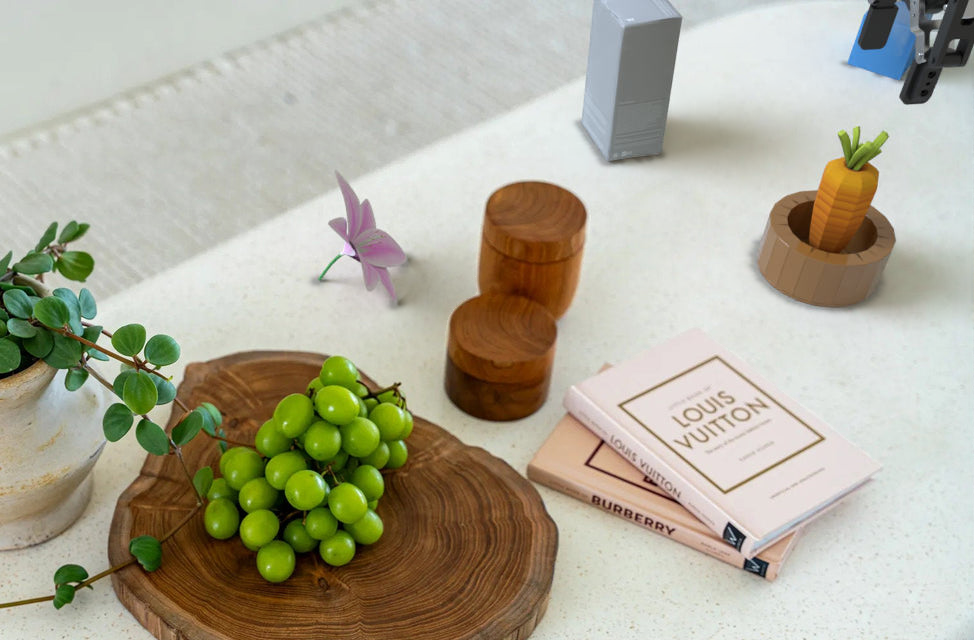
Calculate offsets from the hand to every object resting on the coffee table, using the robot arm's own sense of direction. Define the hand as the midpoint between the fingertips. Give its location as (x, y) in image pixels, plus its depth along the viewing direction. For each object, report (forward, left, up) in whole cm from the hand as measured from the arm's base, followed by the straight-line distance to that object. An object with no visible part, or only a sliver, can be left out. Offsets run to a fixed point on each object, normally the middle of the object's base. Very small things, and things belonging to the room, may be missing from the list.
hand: (890, 73), depth 95 cm
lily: (+42, +11, -21) cm, 48 cm away
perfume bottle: (-10, -41, -21) cm, 47 cm away
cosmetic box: (+20, -18, -21) cm, 34 cm away
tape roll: (0, 0, -21) cm, 21 cm away
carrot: (0, 0, -21) cm, 21 cm away
